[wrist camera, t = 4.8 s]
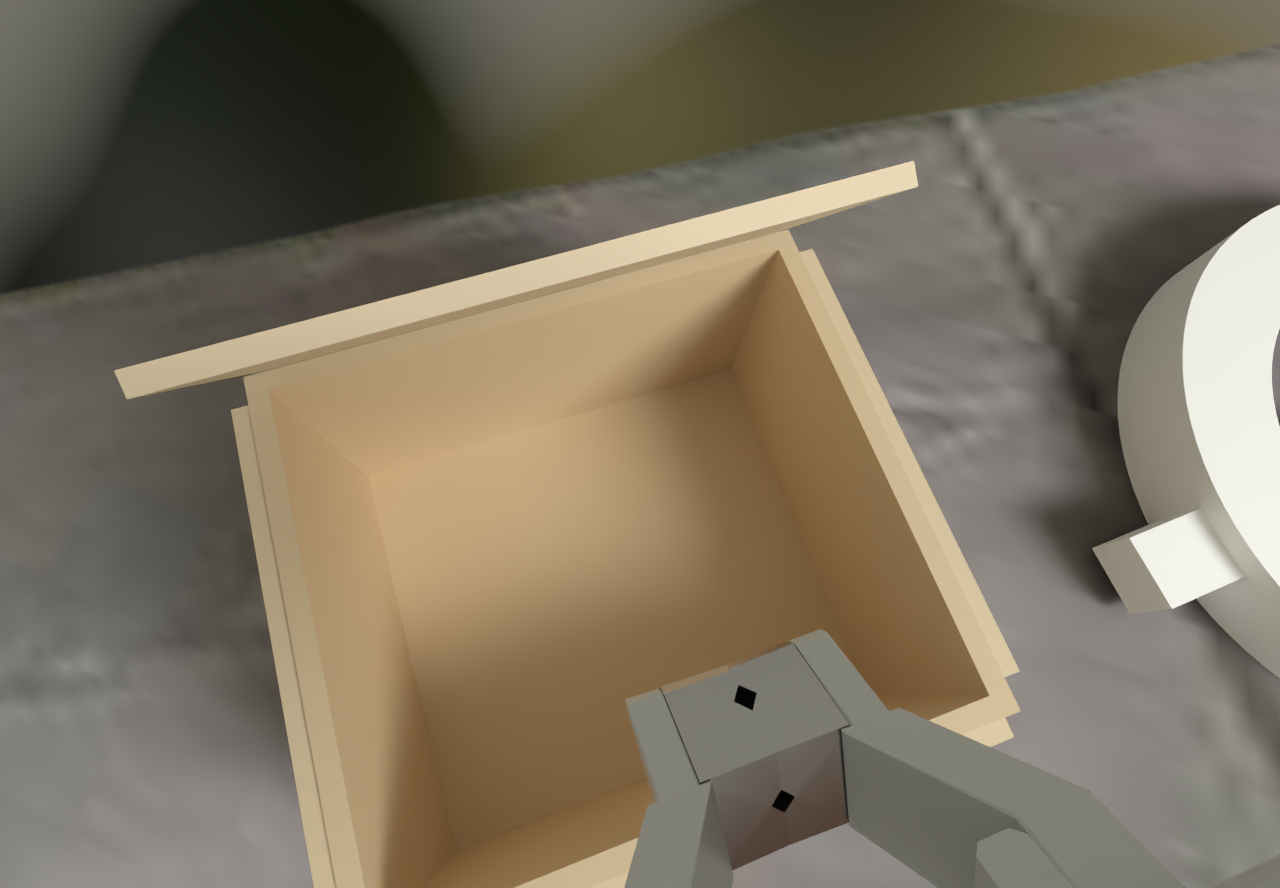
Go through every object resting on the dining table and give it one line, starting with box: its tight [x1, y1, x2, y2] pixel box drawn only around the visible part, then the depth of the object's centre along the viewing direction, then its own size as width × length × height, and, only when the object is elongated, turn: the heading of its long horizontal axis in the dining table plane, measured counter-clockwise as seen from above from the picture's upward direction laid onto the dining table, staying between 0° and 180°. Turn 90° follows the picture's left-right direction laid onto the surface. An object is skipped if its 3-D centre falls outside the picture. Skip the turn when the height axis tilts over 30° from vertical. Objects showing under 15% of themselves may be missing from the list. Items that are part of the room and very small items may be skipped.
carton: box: [231, 230, 1020, 888], centre depth 27 cm, size 19×21×11 cm
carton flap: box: [114, 161, 918, 399], centre depth 19 cm, size 1×18×9 cm, turn 110°
